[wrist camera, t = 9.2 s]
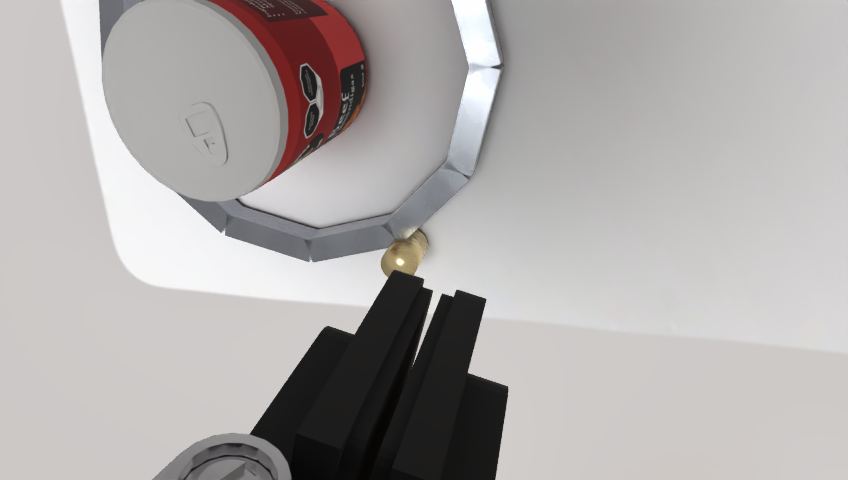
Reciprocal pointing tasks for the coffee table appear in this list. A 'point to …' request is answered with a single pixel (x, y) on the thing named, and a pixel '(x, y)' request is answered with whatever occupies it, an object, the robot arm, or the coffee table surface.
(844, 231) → the coffee table surface
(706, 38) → the coffee table surface
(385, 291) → the robot arm
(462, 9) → the ring
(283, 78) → the canned food
